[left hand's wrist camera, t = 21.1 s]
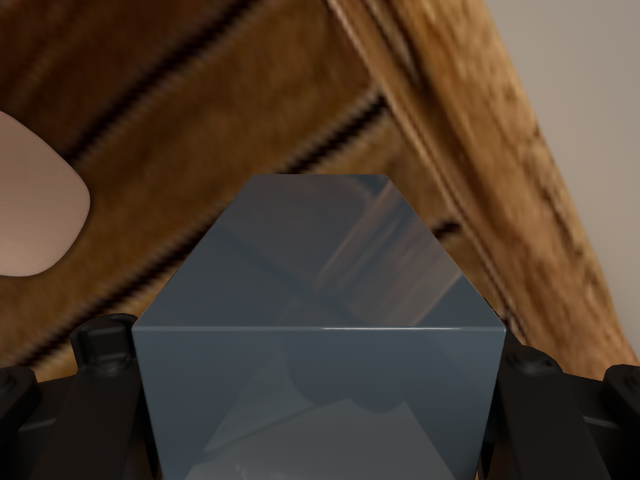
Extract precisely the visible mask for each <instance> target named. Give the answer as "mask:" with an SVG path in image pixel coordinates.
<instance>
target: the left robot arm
mask: <svg viewBox="0 0 640 480" xmlns="http://www.w3.org/2000/svg"><path fill="white" fill-rule="evenodd" d="M483 299H484V300H485V301H486V303H487V304H488V305H489V306H490V308H491V309H492V310H493V308H492V306H491V305H490V304H489V303H488V301H487V300H486V299H485V298H484V297H483ZM493 311H494V313H495V314H496V315H497V317H498V318H499V319H500V316H499V315H498V314H497V313H496V311H495V310H493ZM137 320H138V318H137V317H136V316H135V315H131V314H126V313H116V314H109V315H104V316H99V317H97V318H94V319H92V320H89V321H87V322H85V323H83V324H82V325H80V326H79V327H77V328H76V329H75V330H74V331H73V332H72V333H71V334H70V335H69V338H70V341H71V345H72V348H73V352H74V355H75V359H76V362H77V366H78V371H77V374H76V375H72V376H69V377H64V378H59V379H54V380H50V381H45V382H40V383H38V382H37V379H36V376H35V373H34V371H32V370H31V369H30V368H28V367H22V366H13V367H6V368H0V480H161V479H162V473H161V468H160V464H159V459H158V454H157V450H156V445H155V440H154V435H153V431H152V426H151V421H150V417H149V412H148V407H147V402H146V398H145V393H144V388H143V384H142V379H141V374H140V370H139V365H138V360H137V355H136V351H135V346H134V341H133V337H132V332H131V329H132V326H133V325H134V324H135V323H136V321H137ZM500 320H501V322H502V323H503V324H504V325H505V327H506V335H505V340H504V345H503V349H502V354H501V359H500V363H499V368H498V373H497V378H496V382H495V387H494V392H493V397H492V401H491V406H490V411H489V416H488V420H487V425H486V430H485V434H484V439H483V444H482V449H481V453H480V458H479V463H478V468H477V469H478V478H479V480H640V367H639V366H633V365H625V364H620V365H612V366H611V367H609V368H608V369H607V370H606V372H605V375H604V378H603V381H599V380H594V379H589V378H584V377H579V376H574V375H570V374H566V373H563V371H562V369H561V367H560V366H559V365H558V363H557V362H556V361H555V360H554V359H553V358H551V357H550V356H549V355H547V354H546V353H544V352H542V351H539V350H537V349H535V348H533V347H529V346H525V345H522V344H521V343H520V342H519V340H518V339H517V338H516V337H515V335H514V334H513V333H512V332H511V330H510V329H509V328H508V327H507V325H506V324H505V323H504V322H503V320H502V319H500Z"/></svg>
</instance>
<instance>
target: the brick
mask: <svg viewBox="0 0 640 480" xmlns="http://www.w3.org/2000/svg"><path fill="white" fill-rule="evenodd" d="M131 332H132V337H133V341H134V346H135V351H136V355H137V360H138V365H139V370H140V374H141V379H142V384H143V388H144V393H145V398H146V402H147V407H148V412H149V417H150V421H151V426H152V431H153V435H154V440H155V445H156V450H157V454H158V459H159V464H160V468H161V473H162V478H163V480H475V477H476V472H477V468H478V463H479V458H480V453H481V449H482V444H483V439H484V434H485V430H486V425H487V420H488V416H489V411H490V406H491V401H492V397H493V392H494V387H495V382H496V378H497V373H498V368H499V363H500V359H501V354H502V349H503V345H504V340H505V335H506V327H505V325H504V324H503V323H502V322H501V320H500V319H499V318H498V317H497V315H496V314H495V313H494V311H493V310H492V309H491V308H490V306H489V305H488V304H487V303H486V301H485V300H484V299H483V297H482V296H481V295H480V294H479V292H478V291H477V290H476V289H475V287H474V286H473V285H472V283H471V282H470V281H469V280H468V278H467V277H466V276H465V275H464V273H463V272H462V271H461V269H460V268H459V267H458V266H457V264H456V263H455V262H454V261H453V259H452V258H451V257H450V255H449V254H448V253H447V252H446V250H445V249H444V248H443V247H442V245H441V244H440V243H439V241H438V240H437V239H436V238H435V236H434V235H433V234H432V233H431V231H430V230H429V229H428V227H427V226H426V225H425V224H424V222H423V221H422V220H421V218H420V217H419V216H418V215H417V213H416V212H415V211H414V210H413V208H412V207H411V206H410V204H409V203H408V202H407V201H406V199H405V198H404V197H403V196H402V194H401V193H400V192H399V190H398V189H397V188H396V187H395V185H394V184H393V183H392V182H391V180H390V179H389V178H388V176H387V175H269V174H254V175H252V176H251V177H250V179H249V180H248V181H247V182H246V184H245V185H244V186H243V188H242V189H241V190H240V191H239V193H238V194H237V195H236V196H235V198H234V199H233V200H232V201H231V203H230V204H229V205H228V206H227V208H226V209H225V210H224V211H223V213H222V214H221V215H220V217H219V218H218V219H217V220H216V222H215V223H214V224H213V225H212V227H211V228H210V229H209V230H208V232H207V233H206V234H205V235H204V237H203V238H202V239H201V241H200V242H199V243H198V244H197V246H196V247H195V248H194V249H193V251H192V252H191V253H190V254H189V256H188V257H187V258H186V259H185V261H184V262H183V263H182V264H181V266H180V267H179V268H178V270H177V271H176V272H175V273H174V275H173V276H172V277H171V278H170V280H169V281H168V282H167V283H166V285H165V286H164V287H163V288H162V290H161V291H160V292H159V293H158V295H157V296H156V297H155V299H154V300H153V301H152V302H151V304H150V305H149V306H148V307H147V309H146V310H145V311H144V312H143V314H142V315H141V316H140V317H139V319H138V320H137V321H136V323H135V324H134V325H133V326H132V329H131Z"/></svg>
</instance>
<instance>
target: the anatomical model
mask: <svg viewBox="0 0 640 480" xmlns="http://www.w3.org/2000/svg"><path fill="white" fill-rule="evenodd" d="M89 208H90V195H89V191H88V189H87V187H86V185H85V183H84V182H83V180H82V179H81V177H80V176H79V175H78V174H77V173H76V172H75V171H74V170H73V168H72V167H71V166H70V165H69V164H68V163H67V162H66V161H65V160H64V159H62V158H61V157H60V156H59V155H58V154H57V153H56V152H55V151H54V150H53V149H52V148H51V147H50V146H49V145H48V144H47V143H46V142H44V141H43V140H42V139H41V138H40V137H38V136H37V135H36V134H34V133H33V132H32V131H30V130H29V129H28V128H26V127H25V126H24V125H22V124H21V123H19V122H18V121H17V120H15V119H14V118H12V117H11V116H9V115H7V114H5V113H4V112H1V111H0V275H6V276H30V275H34V274H37V273H40V272H42V271H44V270H46V269H48V268H50V267H51V266H53V265H54V264H55V263H56V262H57V261H58V260H59V259H61V257H62V256H63V255H64V254H65V253H66V252H67V251H68V249H69V248H70V246H71V245H72V244H73V242H74V241H75V239H76V238H77V236H78V234H79V232H80V230H81V229H82V227H83V225H84V222H85V220H86V218H87V215H88V212H89Z"/></svg>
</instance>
